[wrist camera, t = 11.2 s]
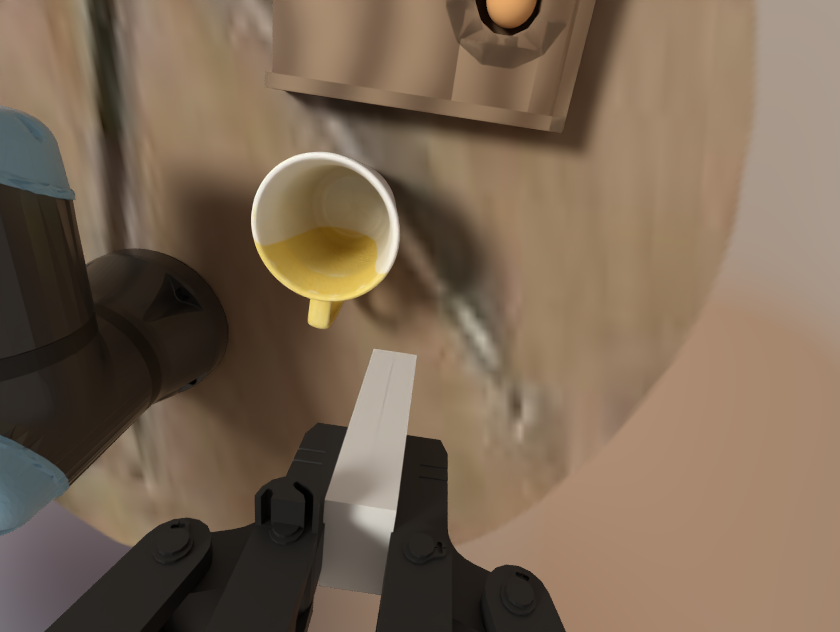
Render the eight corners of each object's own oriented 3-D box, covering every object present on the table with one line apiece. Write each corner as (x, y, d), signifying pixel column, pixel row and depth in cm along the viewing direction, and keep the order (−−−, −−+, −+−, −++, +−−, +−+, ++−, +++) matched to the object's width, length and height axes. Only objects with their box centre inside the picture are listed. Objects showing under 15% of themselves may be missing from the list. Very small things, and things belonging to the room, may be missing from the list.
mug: (318, 123, 37) (272, 123, 27) (430, 175, 38) (424, 193, 28) (273, 265, 42) (222, 308, 32) (372, 307, 43) (351, 360, 34)
